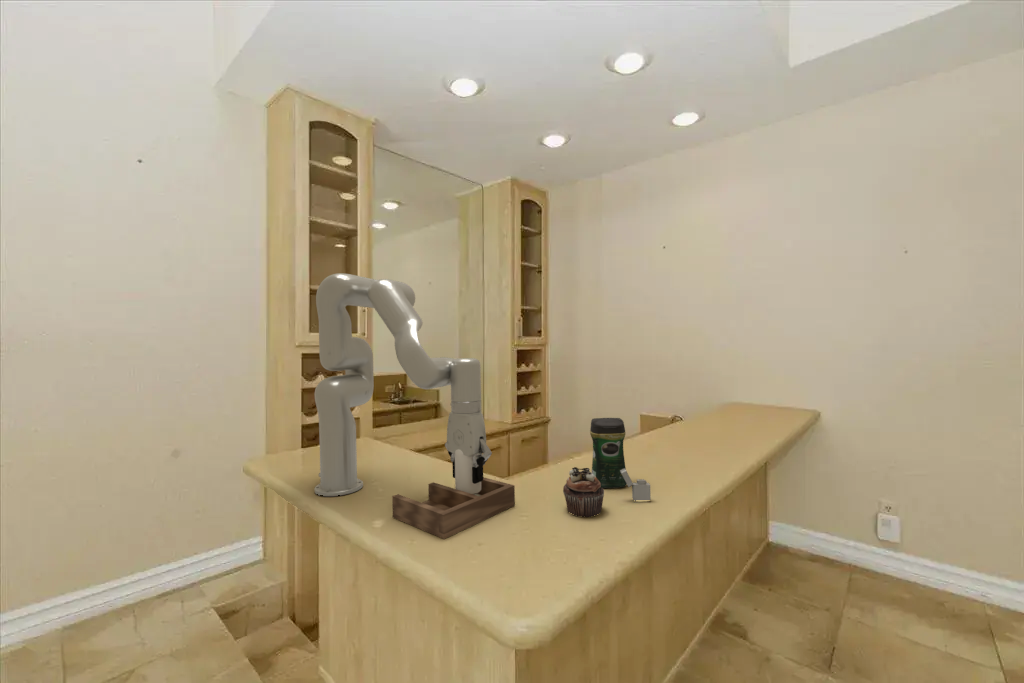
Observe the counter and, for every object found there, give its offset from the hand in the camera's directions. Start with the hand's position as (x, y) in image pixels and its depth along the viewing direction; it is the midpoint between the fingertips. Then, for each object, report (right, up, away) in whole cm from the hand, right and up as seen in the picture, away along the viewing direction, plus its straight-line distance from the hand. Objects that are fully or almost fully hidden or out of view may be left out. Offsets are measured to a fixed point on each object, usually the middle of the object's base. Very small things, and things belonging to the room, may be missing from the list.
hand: (467, 478), depth 109 cm
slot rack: (-2, -6, -5) cm, 8 cm away
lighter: (+42, -6, 0) cm, 42 cm away
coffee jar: (+38, -6, +12) cm, 40 cm away
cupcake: (+28, -6, -6) cm, 29 cm away
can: (0, -3, 0) cm, 3 cm away
